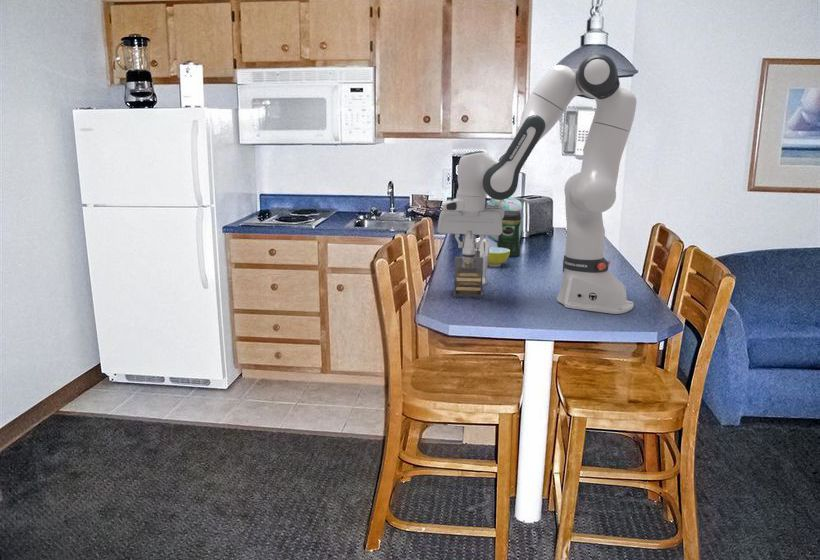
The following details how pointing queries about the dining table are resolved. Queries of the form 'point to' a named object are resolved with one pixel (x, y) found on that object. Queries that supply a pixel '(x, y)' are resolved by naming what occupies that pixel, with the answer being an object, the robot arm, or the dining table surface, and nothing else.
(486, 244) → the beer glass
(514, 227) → the coffee jar
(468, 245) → the metal cylinder
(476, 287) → the stand
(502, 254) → the bowl
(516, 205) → the lunch box
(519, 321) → the dining table surface
